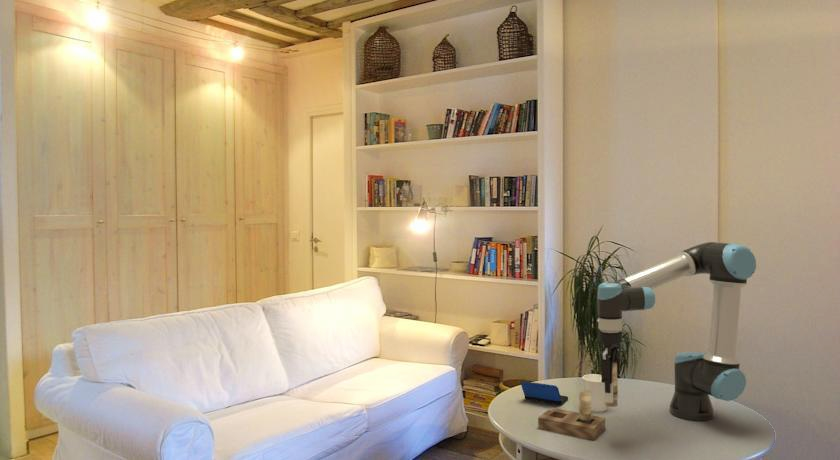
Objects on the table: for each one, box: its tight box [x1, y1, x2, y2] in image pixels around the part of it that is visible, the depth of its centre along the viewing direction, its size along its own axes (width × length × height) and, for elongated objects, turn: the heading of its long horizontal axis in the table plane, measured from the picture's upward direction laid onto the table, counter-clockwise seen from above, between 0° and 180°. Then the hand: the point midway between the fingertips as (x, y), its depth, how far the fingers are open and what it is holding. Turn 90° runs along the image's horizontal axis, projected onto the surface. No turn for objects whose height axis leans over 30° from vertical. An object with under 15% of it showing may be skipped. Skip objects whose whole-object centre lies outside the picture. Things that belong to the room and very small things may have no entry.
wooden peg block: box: [537, 389, 606, 441], centre depth 213 cm, size 20×12×14 cm, turn 55°
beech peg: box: [605, 362, 619, 408], centre depth 200 cm, size 4×4×14 cm
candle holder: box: [581, 373, 608, 413], centre depth 233 cm, size 10×10×12 cm
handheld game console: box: [520, 380, 569, 406], centre depth 243 cm, size 16×13×9 cm
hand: (611, 399), depth 201 cm, fingers closed on beech peg, 4 cm apart
